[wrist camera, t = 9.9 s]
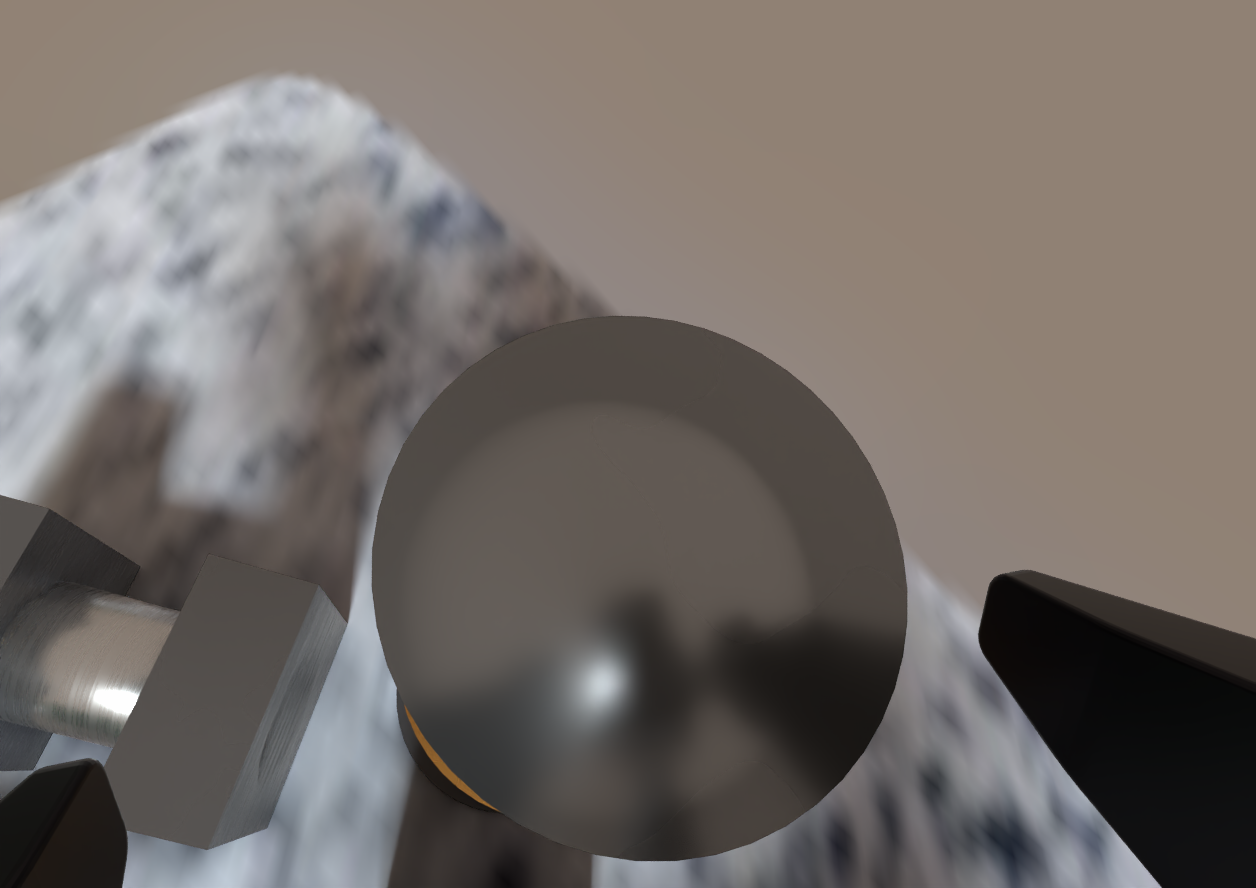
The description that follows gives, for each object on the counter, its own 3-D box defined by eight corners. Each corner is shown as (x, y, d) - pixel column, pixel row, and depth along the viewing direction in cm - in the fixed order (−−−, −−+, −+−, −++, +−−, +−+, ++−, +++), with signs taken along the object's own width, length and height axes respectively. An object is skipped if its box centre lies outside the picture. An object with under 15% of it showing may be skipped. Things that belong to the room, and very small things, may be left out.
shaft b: (347, 624, 18) (318, 584, 14) (266, 828, 16) (207, 850, 12) (50, 541, 17) (-70, 475, 13) (-70, 745, 15) (-250, 739, 11)
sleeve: (588, 819, 17) (900, 940, 5) (386, 771, 17) (250, 792, 5) (631, 619, 19) (929, 391, 7) (451, 570, 19) (465, 242, 7)
